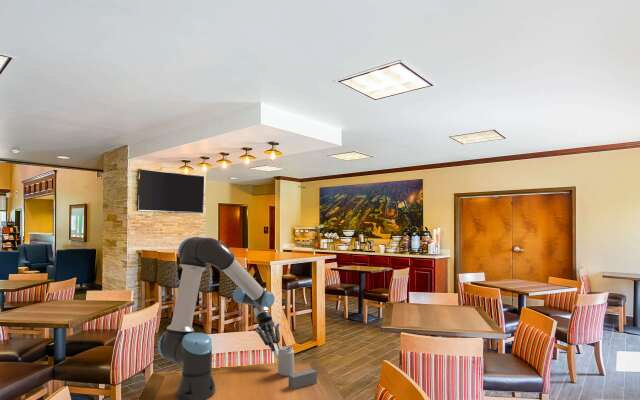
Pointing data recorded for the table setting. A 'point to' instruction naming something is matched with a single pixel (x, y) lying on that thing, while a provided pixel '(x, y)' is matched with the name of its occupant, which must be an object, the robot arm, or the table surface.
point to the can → (285, 360)
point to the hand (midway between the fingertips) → (278, 356)
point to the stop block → (302, 379)
